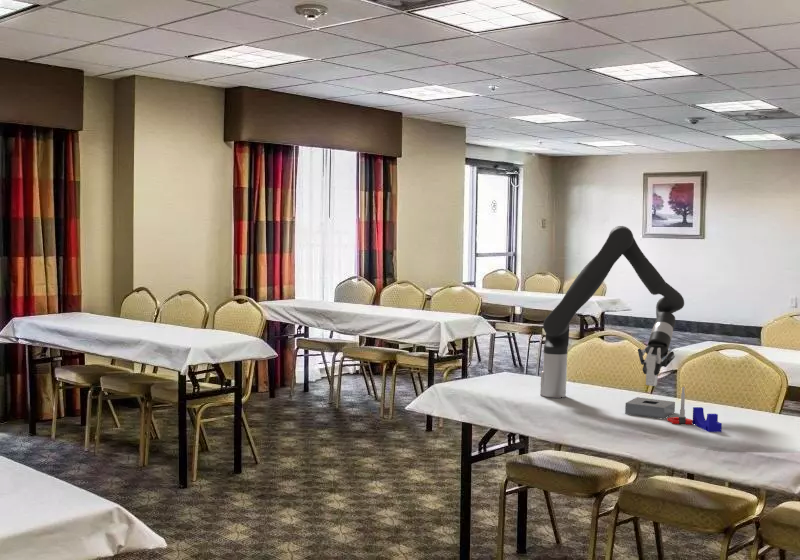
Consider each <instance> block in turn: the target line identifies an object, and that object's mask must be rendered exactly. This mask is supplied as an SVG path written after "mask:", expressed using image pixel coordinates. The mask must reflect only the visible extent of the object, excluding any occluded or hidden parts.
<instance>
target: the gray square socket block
mask: <svg viewBox="0 0 800 560" xmlns="http://www.w3.org/2000/svg"><path fill="white" fill-rule="evenodd" d="M674 412H675V413H676V401H670V400H664V399H663V400H662V399H653V398H646V397H639V396H638V397H635V398H632V399H631V400H628V401H627V402H625V408H624V414H626V415H630V414H631V415H632V416H637V415H639V416H640V417H645V416H646V417H645V418H652V417H655V419H660V418H662V419H661V420H665V419H667V418H668V417H670V416H671V414H672V413H673V414H675V413H674ZM673 414H672V415H673ZM669 415H670V416H669ZM639 416H638V417H639ZM667 416H668V417H667ZM666 417H667V418H666ZM664 418H665V419H664Z"/></svg>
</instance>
